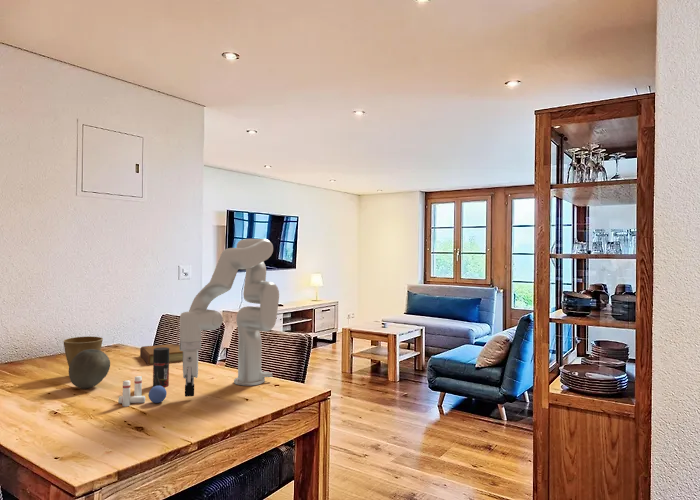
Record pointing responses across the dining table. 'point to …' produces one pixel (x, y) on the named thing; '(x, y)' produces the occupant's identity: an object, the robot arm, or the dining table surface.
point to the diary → (147, 351)
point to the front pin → (133, 399)
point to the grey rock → (88, 368)
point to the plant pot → (80, 346)
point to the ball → (157, 394)
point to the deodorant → (161, 367)
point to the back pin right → (138, 386)
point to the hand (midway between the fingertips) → (189, 395)
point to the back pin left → (126, 393)
